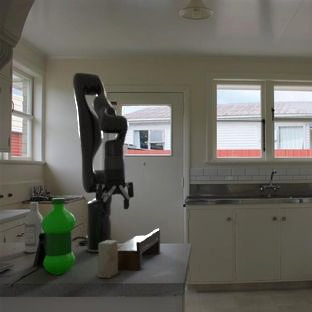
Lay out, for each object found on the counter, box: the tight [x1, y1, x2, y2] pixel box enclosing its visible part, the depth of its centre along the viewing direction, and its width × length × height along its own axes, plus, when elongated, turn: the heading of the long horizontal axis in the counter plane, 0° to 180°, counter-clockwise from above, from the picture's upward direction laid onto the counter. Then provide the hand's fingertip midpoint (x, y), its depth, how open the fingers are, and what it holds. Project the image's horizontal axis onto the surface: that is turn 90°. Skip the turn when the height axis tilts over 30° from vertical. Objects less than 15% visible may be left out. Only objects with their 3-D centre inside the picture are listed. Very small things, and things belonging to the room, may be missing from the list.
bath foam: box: [24, 201, 44, 253], centre depth 152 cm, size 7×7×20 cm
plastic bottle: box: [42, 197, 76, 275], centre depth 124 cm, size 10×10×25 cm
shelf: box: [118, 228, 161, 271], centre depth 137 cm, size 10×22×10 cm, turn 174°
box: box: [97, 239, 119, 279], centre depth 120 cm, size 5×4×11 cm
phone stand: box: [32, 232, 46, 268], centre depth 132 cm, size 9×6×12 cm, turn 67°
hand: (115, 210), depth 139 cm, fingers open, 8 cm apart
